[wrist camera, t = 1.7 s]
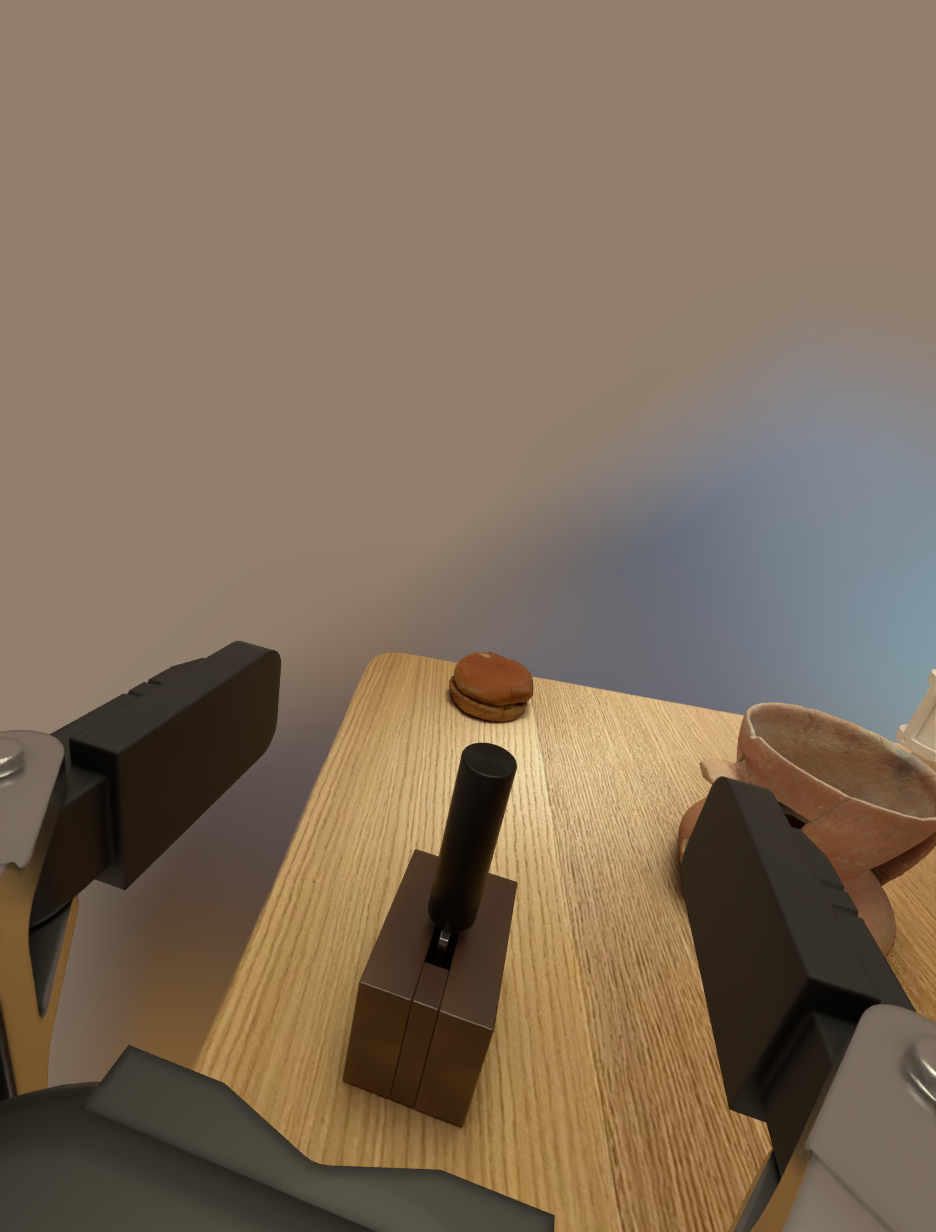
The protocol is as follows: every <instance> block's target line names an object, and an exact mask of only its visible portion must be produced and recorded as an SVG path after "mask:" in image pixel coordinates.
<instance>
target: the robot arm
mask: <svg viewBox="0 0 936 1232" xmlns="http://www.w3.org/2000/svg"><path fill="white" fill-rule="evenodd" d="M280 671H281V659H280V655H279V653H278V652H276V651H275V650H271V649H267V648H264V647H260V646H256V645H253V644H249V643H246V642H242V641H235V642H233V643H231V644H230V645H228V646H226V647H224V648H222V649H221V650H219V651H217V652H216V653H214V654H212V655H211V656H209V657H207V658H201V659H197V660H194V661H190V662H186V663H183V664H179V665H176V666H172V667H170V668H169V669H167V670H165V671H164V672H161V673H160V674H158V675H156V676H154V677H152V678H151V679H149V681H148V683H145V682H143V683H142V684H140V685H138V686H136V687H134V688H133V689H131V690H129V692H128V694H122V695H120V696H119V697H117V698H115V699H113V700H111V701H109V702H107V703H106V704H104V705H102V706H100V707H99V708H97V709H95V710H93V711H91V712H89V713H88V714H86V715H84V716H82V717H80V718H79V719H77V720H75V721H73V722H71V723H70V724H68V725H66V726H64V727H62V728H61V729H59V730H57V731H55V732H53V733H52V734H50V735H49V734H46V733H42V732H37V731H28V730H11V731H1V732H0V1232H554V1218H555V1215H552V1214H550V1213H547V1212H545V1211H542V1210H540V1209H537V1208H535V1207H532V1206H530V1205H527V1204H525V1203H522V1202H520V1201H517V1200H515V1199H512V1198H510V1197H507V1196H505V1195H502V1194H500V1193H497V1192H495V1191H492V1190H490V1189H487V1188H485V1187H482V1186H480V1185H477V1184H475V1183H472V1182H470V1181H467V1180H465V1179H462V1178H460V1177H457V1176H455V1175H452V1174H450V1173H447V1172H445V1171H442V1170H432V1169H406V1168H380V1167H355V1166H329V1165H322V1164H318V1163H316V1162H313V1161H311V1160H310V1159H308V1158H307V1157H306V1156H304V1155H303V1154H302V1153H301V1152H300V1151H299V1150H298V1149H297V1148H295V1147H294V1146H293V1145H292V1144H291V1143H290V1142H289V1141H288V1140H287V1139H286V1138H284V1137H283V1136H282V1135H281V1134H280V1133H279V1132H278V1131H277V1130H276V1129H274V1128H273V1127H272V1126H271V1125H270V1124H269V1123H268V1122H267V1121H266V1120H265V1119H263V1118H262V1117H261V1116H260V1115H259V1114H258V1113H257V1112H256V1111H255V1110H253V1109H252V1108H251V1107H250V1106H249V1105H248V1104H247V1103H246V1102H245V1101H244V1100H242V1099H241V1098H240V1097H239V1096H238V1095H237V1094H236V1093H235V1092H234V1091H233V1090H231V1089H230V1088H229V1087H228V1086H227V1085H226V1084H225V1083H223V1082H220V1081H218V1080H215V1079H213V1078H210V1077H208V1076H205V1075H203V1074H200V1073H198V1072H195V1071H193V1070H190V1069H187V1068H185V1067H183V1066H180V1065H177V1064H175V1063H173V1062H170V1061H168V1060H165V1059H162V1058H160V1057H158V1056H155V1055H152V1054H150V1053H148V1052H145V1051H142V1050H140V1049H138V1048H135V1047H133V1046H130V1045H128V1047H127V1048H126V1049H125V1050H124V1052H123V1053H122V1054H121V1056H120V1057H119V1058H118V1060H117V1061H116V1062H115V1064H114V1065H113V1066H112V1068H111V1069H110V1071H109V1072H108V1073H107V1074H106V1076H105V1077H104V1078H103V1080H102V1081H101V1082H86V1083H76V1084H66V1085H60V1086H55V1087H51V1088H48V1063H49V1062H48V1061H49V1051H50V1043H51V1037H52V1031H53V1026H54V1022H55V1017H56V1012H57V1007H58V1003H59V998H60V994H61V988H62V984H63V980H64V975H65V970H66V966H67V960H68V956H69V951H70V947H71V942H72V937H73V933H74V928H75V924H76V919H77V914H78V908H79V900H78V894H79V893H80V892H81V891H82V890H83V889H84V888H85V887H86V886H88V885H89V884H90V883H91V882H92V881H93V880H94V879H95V880H98V881H101V882H104V883H106V884H109V885H112V886H115V887H118V888H120V889H123V890H126V889H127V888H128V887H129V886H130V885H131V884H132V883H133V882H134V881H135V880H136V879H137V878H138V877H139V876H140V875H141V874H142V873H143V872H144V871H145V870H146V869H147V868H148V867H149V866H150V865H151V864H152V863H153V862H154V861H155V860H156V859H158V857H160V856H161V855H162V854H163V853H164V852H165V851H166V850H167V849H168V848H169V847H170V846H171V845H172V844H173V843H174V842H175V841H176V840H177V839H178V838H179V837H180V836H181V835H182V834H183V833H184V832H185V831H186V830H187V829H188V828H189V827H190V826H191V825H192V824H193V823H194V822H195V821H196V820H197V819H198V818H199V817H200V816H201V815H202V814H203V813H204V812H205V811H206V810H207V809H208V808H209V807H210V806H211V805H212V804H213V803H214V802H215V801H216V800H217V799H219V798H220V797H221V796H222V794H224V793H225V792H226V791H227V790H228V789H229V788H230V787H231V786H232V785H233V784H234V783H235V782H236V781H237V780H238V779H239V778H240V777H241V776H242V775H243V774H244V773H245V772H246V771H247V770H248V769H249V768H250V767H251V766H252V765H253V764H254V763H255V762H256V761H257V760H258V759H259V758H260V757H261V756H262V755H263V754H264V753H265V751H266V750H267V748H268V747H269V745H270V743H271V741H272V738H273V736H274V733H275V730H276V725H277V715H278V699H279V686H280ZM681 882H682V889H683V893H684V898H685V903H686V908H687V912H688V917H689V922H690V926H691V931H692V936H693V941H694V945H695V950H696V955H697V960H698V964H699V969H700V974H701V978H702V983H703V988H704V993H705V997H706V1002H707V1007H708V1011H709V1016H710V1021H711V1026H712V1030H713V1035H714V1040H715V1045H716V1049H717V1054H718V1059H719V1063H720V1068H721V1073H722V1078H723V1082H724V1087H725V1092H726V1097H727V1101H728V1106H729V1109H730V1110H733V1111H735V1112H738V1113H741V1114H744V1115H747V1116H749V1117H752V1118H755V1119H758V1120H761V1121H763V1122H766V1123H767V1127H768V1130H769V1134H770V1138H771V1142H772V1146H773V1147H772V1149H771V1150H770V1152H769V1153H768V1155H767V1156H766V1157H765V1159H764V1160H763V1162H762V1164H761V1166H760V1168H759V1170H758V1172H757V1174H756V1176H755V1178H754V1180H753V1182H752V1184H751V1186H750V1188H749V1190H748V1192H747V1194H746V1196H745V1198H744V1200H743V1203H742V1205H741V1207H740V1209H739V1211H738V1213H737V1215H736V1217H735V1219H734V1221H733V1223H732V1225H731V1227H730V1229H729V1231H728V1232H936V1023H935V1022H933V1021H931V1020H930V1019H928V1018H926V1017H924V1016H922V1015H920V1014H918V1013H916V1011H915V1009H914V1007H913V1006H912V1004H911V1002H910V1000H909V999H908V997H907V995H906V993H905V992H904V990H903V988H902V986H901V985H900V983H899V981H898V979H897V978H896V976H895V974H894V972H893V971H892V969H891V967H890V965H889V964H888V962H887V960H886V958H885V957H884V955H883V953H882V951H881V950H880V948H879V946H878V944H877V943H876V941H875V939H874V937H873V936H872V934H871V932H870V930H869V929H868V927H867V925H866V923H865V922H864V920H863V918H859V917H858V913H859V911H858V909H857V908H856V906H855V904H854V902H853V901H852V899H851V897H850V895H849V894H848V893H847V892H844V885H843V883H842V881H841V880H840V878H839V876H838V874H837V873H836V871H835V869H834V867H833V866H832V864H831V862H830V861H829V859H828V857H827V856H826V855H825V854H824V853H823V852H822V851H821V850H820V849H819V848H818V847H817V846H816V845H815V844H814V843H813V842H812V841H811V840H810V839H809V838H808V837H807V836H806V835H805V834H804V833H803V832H802V831H801V830H800V829H796V828H793V827H791V826H790V824H789V822H788V820H787V818H786V816H785V814H784V812H783V811H782V809H781V807H780V805H779V803H778V801H777V799H776V797H775V795H774V794H773V792H772V791H771V790H769V789H767V788H764V787H760V786H756V785H753V784H749V783H746V782H742V781H738V780H735V779H731V778H728V777H724V776H721V777H719V778H717V779H716V780H715V782H714V783H713V785H712V787H711V789H710V791H709V794H708V796H707V798H706V801H705V803H704V805H703V808H702V810H701V812H700V815H699V817H698V819H697V822H696V824H695V826H694V828H693V831H692V833H691V835H690V838H689V840H688V842H687V845H686V848H685V851H684V855H683V860H682V867H681Z"/></svg>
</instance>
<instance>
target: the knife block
mask: <svg viewBox="0 0 936 1232" xmlns="http://www.w3.org/2000/svg"><path fill="white" fill-rule="evenodd" d="M438 858H439V857H438V856H435V855H432V854H429V853H426V852H423V851H420V850H417V849H415V850H414V853H413V855H412V858H411V860H410V862H409V865H408V867H407V869H406V872H405V874H404V877H403V879H402V881H401V884H400V886H399V889H398V891H397V893H396V896H395V898H394V901H393V903H392V905H391V908H390V910H389V912H388V915H387V917H386V920H385V922H384V924H383V927H382V929H381V932H380V934H379V936H378V939H377V941H376V943H375V946H374V948H373V951H372V953H371V955H370V958H369V960H368V963H367V965H366V967H365V970H364V972H363V974H362V977H361V979H360V982H359V987H358V993H357V999H356V1004H355V1010H354V1016H353V1022H352V1027H351V1033H350V1039H349V1045H348V1050H347V1056H346V1062H345V1068H344V1074H343V1081H345V1082H348V1083H350V1084H353V1085H355V1086H358V1087H360V1088H363V1089H366V1090H368V1091H371V1092H373V1093H376V1094H378V1095H381V1096H383V1097H386V1098H390V1099H392V1100H394V1101H397V1102H399V1103H402V1104H404V1105H407V1106H409V1107H414V1108H415V1109H417V1110H419V1111H422V1112H424V1113H427V1114H429V1115H432V1116H434V1117H437V1118H439V1119H442V1120H445V1121H447V1122H450V1123H452V1124H455V1125H457V1126H460V1127H463V1125H464V1122H465V1119H466V1116H467V1112H468V1109H469V1106H470V1103H471V1100H472V1097H473V1094H474V1091H475V1088H476V1085H477V1081H478V1078H479V1075H480V1072H481V1069H482V1066H483V1063H484V1060H485V1057H486V1054H487V1050H488V1047H489V1044H490V1041H491V1038H492V1035H493V1032H494V1026H495V1020H496V1014H497V1008H498V1001H499V995H500V989H501V983H502V976H503V970H504V964H505V957H506V951H507V945H508V939H509V932H510V926H511V920H512V914H513V907H514V901H515V895H516V889H517V882H515V881H512V880H509V879H506V878H503V877H500V876H497V875H494V874H491V873H488V876H487V880H486V883H485V887H484V891H483V894H482V898H481V902H480V905H479V909H478V913H477V916H476V920H475V922H474V924H473V925H472V926H471V927H470V928H469V929H468V930H466V931H464V932H460V933H451V936H450V940H449V944H448V948H447V952H446V956H445V960H444V964H443V968H441V967H438V966H435V965H433V963H434V959H435V955H436V951H437V947H438V943H439V939H440V935H441V932H442V929H440V928H438V927H437V926H436V925H435V924H434V923H433V922H432V920H431V918H430V916H429V913H428V902H429V898H430V894H431V889H432V885H433V880H434V876H435V871H436V867H437V862H438Z"/></svg>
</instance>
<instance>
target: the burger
mask: <svg viewBox="0 0 936 1232" xmlns="http://www.w3.org/2000/svg"><path fill="white" fill-rule="evenodd" d="M449 684H450V685H449V687H450V690H451V693H452V695H453V699H454V701H455V702H456V704H457V705H458V706H459V707H460V709H461V710H463V711H464V712H466V713H468V714H470V715H473V716H476V717H479V718H482V719H485V720H491V721H511V720H514V719H515V718H517V717H518V716H519V715H520V714H521V713H522V711H523V710H524V708H525V707H526V704H527V701H529V699H530V698H531V697H532V696H533V679H532V676H531V673H530V672H529V671H528V670H527V669H526V668H525V667H524V666H523V665H521V664H519V663H518V662H516V661H513V660H510V659H506V658H504V657H502V656H499V655H497V654H494V653H491V652H488V653H482V652H479V653H473V654H470V655H468V656H466V657H464V658H463V659H461V660H460V662H459V663H458V664H457V666H456V667H455V670H454V676H452V677H451V679H450V680H449Z"/></svg>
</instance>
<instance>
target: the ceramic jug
mask: <svg viewBox="0 0 936 1232" xmlns="http://www.w3.org/2000/svg"><path fill="white" fill-rule="evenodd" d="M700 768H701V771H702V776H703V777H704V778H705V780H707V781H708V782H709V783H710V784H712V785H713V783H714V782H715V780H716V779H717V778H719V777H721V776H724V777H728V778H731V779H735V780H738V781H742V782H746V783H749V784H753V785H756V786H760V787H764V788H767V789H769V790H771V791H772V792H773V794H774V795H775V797H776V799H777V801H778V803H779V805H780V807H781V809H782V811H783V812H784V814H785V816H786V818H787V820H788V822H789V824H790V826H791V827H793V828H796V829H800V830H801V831H802V832H803V833H804V834H805V835H806V836H807V837H808V838H809V839H810V840H811V841H812V842H813V843H814V844H815V845H816V846H817V847H818V848H819V849H820V850H821V851H822V852H823V853H824V854H825V855H826V856H827V857H828V859H829V861H830V862H831V864H832V866H833V867H834V869H835V871H836V873H837V874H838V876H839V878H840V880H841V881H842V883H843V885H844V892H847V893H848V894H849V895H850V897H851V899H852V901H853V902H854V904H855V906H856V908H857V909H858V911H859V913H858V917H859V918H863V920H864V922H865V923H866V925H867V927H868V929H869V930H870V932H871V934H872V936H873V937H874V939H875V941H876V943H877V944H878V946H879V948H880V950H881V951H882V953H883V955H884V957H885V958H886V957H887V956H888V955H889V953H890V952H891V950H892V948H893V945H894V941H895V932H896V927H895V918H894V913H893V910H892V907H891V904H890V902H889V899H888V897H887V895H886V893H885V891H884V890H883V888H882V886H883V885H884V884H886V883H887V882H889V881H891V880H893V879H895V878H896V877H898V876H901V875H902V874H903V873H904V872H906V871H908V870H909V869H910V868H912V867H913V866H914V865H916V864H917V863H918V862H919V861H921V860H922V859H923V858H924V857H925V856H927V855H928V854H929V853H930V851H932V849H933V848H934V847H935V846H936V772H935V771H934V770H932V769H931V768H930V767H929V766H928V765H927V764H925V763H924V762H923V761H921V760H920V759H919V758H917V757H916V756H914V755H912V754H910V753H908V752H906V751H905V750H903V749H901V748H900V747H898V746H896V745H895V744H894V743H892V742H891V741H889V740H888V739H886V738H884V737H882V736H880V735H878V734H875V733H873V732H872V731H868V730H866V729H864V728H862V727H860V726H859V725H856V724H853V723H851V722H849V721H846V720H842V719H841V718H838V717H834V716H830V715H829V714H827V713H824V712H821V711H818V710H815V709H809V708H805V707H802V706H798V705H792V704H784V703H776V702H775V703H761V704H757V705H754V706H752V707H750V708H749V709H748V710H747V712H746V713H745V715H744V718H743V721H742V724H741V727H740V732H739V738H738V747H737V762H736V763H735V764H733V763H731V762H729V761H726V760H720V759H708V760H704V761H701V762H700ZM705 801H706V798H704V799H702V800H700V801H699V802H697V803H696V804H694V805H693V806H692V807H691V808H690V809H688V811H687V812H686V813H685V815H684V816H683V818H682V821H681V823H680V827H679V834H678V846H679V854H680V863H681V865H682V860H683V855H684V851H685V848H686V845H687V842H688V840H689V838H690V835H691V833H692V831H693V828H694V826H695V824H696V822H697V819H698V817H699V815H700V812H701V810H702V808H703V805H704V803H705Z"/></svg>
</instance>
